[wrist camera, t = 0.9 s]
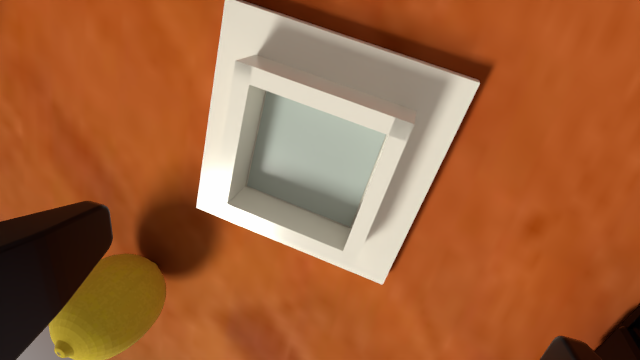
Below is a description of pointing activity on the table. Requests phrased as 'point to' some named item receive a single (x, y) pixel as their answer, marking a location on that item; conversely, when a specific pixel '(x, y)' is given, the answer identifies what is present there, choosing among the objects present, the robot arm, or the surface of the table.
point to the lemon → (110, 309)
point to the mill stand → (324, 137)
